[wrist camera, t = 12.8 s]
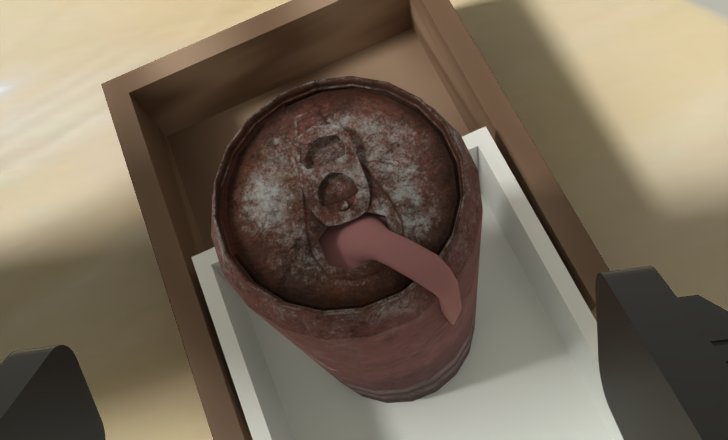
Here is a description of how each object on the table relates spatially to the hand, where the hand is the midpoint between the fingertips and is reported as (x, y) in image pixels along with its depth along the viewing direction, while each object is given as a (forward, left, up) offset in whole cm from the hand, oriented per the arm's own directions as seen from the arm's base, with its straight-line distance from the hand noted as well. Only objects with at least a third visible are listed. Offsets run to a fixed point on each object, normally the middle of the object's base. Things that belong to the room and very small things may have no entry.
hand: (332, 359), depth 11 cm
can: (+1, +4, -17) cm, 17 cm away
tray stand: (+1, +10, -19) cm, 21 cm away
